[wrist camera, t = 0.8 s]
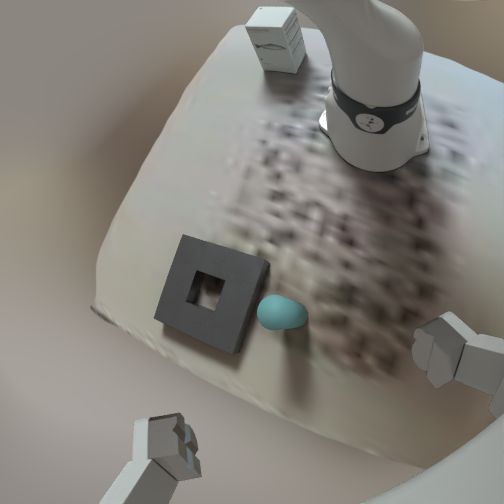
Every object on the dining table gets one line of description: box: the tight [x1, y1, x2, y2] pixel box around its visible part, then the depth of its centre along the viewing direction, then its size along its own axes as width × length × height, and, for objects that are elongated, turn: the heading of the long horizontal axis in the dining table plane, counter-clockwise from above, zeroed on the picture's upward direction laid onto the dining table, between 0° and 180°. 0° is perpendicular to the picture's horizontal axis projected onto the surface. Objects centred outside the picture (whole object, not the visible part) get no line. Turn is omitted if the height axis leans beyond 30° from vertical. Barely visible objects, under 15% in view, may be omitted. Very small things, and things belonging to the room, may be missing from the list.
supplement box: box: [245, 7, 306, 74], centre depth 48 cm, size 7×7×13 cm
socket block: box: [154, 234, 270, 354], centre depth 46 cm, size 14×14×3 cm
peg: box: [257, 295, 308, 330], centre depth 37 cm, size 4×4×13 cm
